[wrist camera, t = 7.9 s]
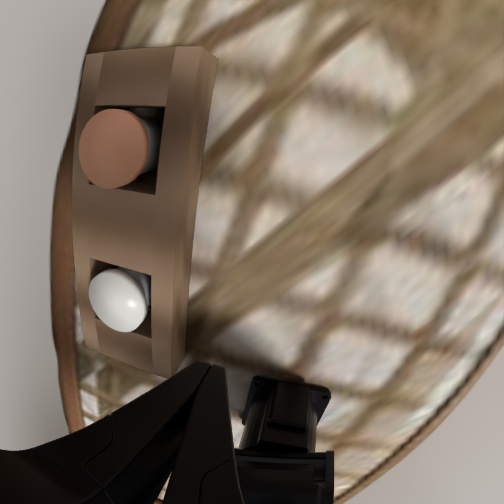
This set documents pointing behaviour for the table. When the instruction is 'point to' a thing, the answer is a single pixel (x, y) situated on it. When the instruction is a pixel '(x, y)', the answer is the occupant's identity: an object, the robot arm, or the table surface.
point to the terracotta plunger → (118, 147)
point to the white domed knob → (121, 297)
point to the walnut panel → (144, 198)
